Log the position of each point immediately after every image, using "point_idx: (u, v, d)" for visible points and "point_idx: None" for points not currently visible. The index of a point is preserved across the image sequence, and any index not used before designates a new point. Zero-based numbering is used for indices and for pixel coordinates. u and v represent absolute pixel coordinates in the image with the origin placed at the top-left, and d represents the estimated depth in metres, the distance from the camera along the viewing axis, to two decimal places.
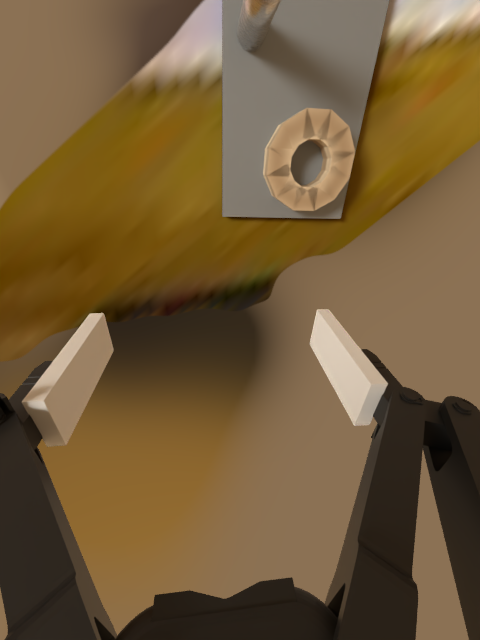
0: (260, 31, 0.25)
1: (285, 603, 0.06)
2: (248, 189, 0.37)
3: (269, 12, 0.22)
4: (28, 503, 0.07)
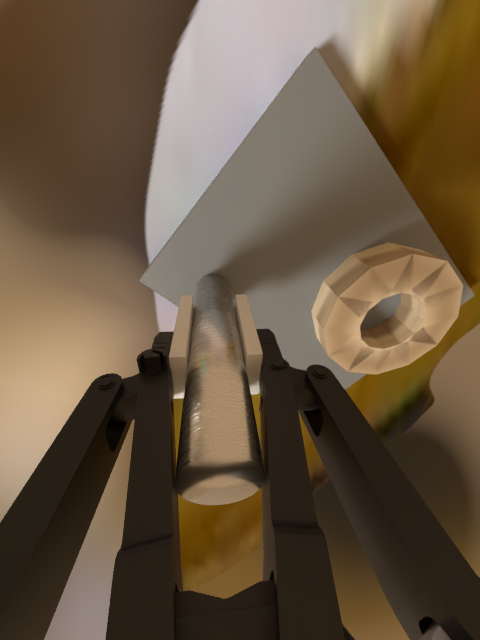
0: None
1: None
2: None
3: None
4: (157, 449, 0.08)
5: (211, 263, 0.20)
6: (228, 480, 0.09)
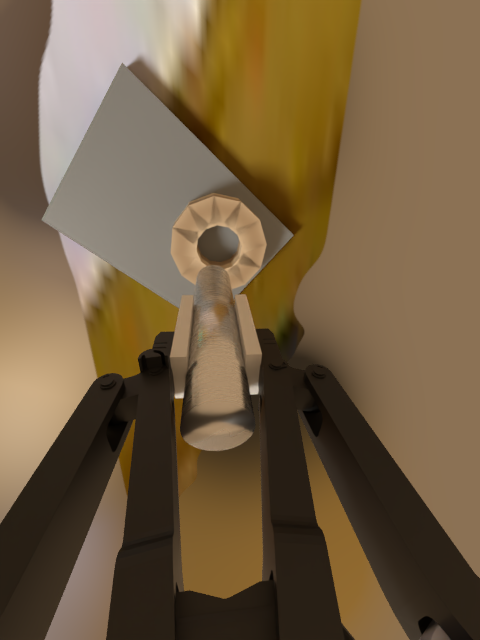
0: None
1: None
2: None
3: None
4: (158, 448, 0.08)
5: (90, 207, 0.30)
6: (224, 426, 0.10)
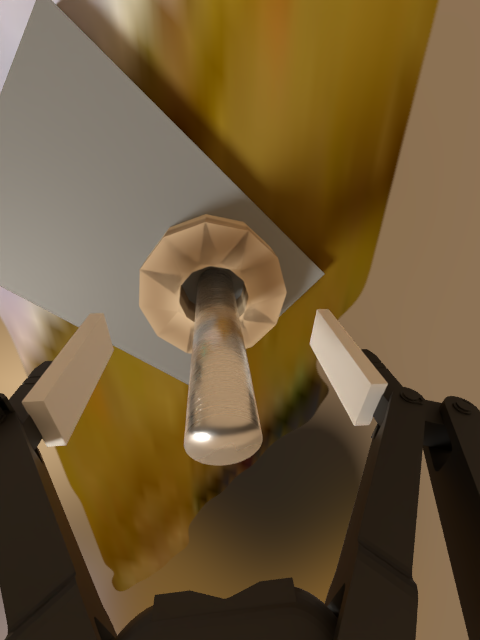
0: None
1: (285, 603, 0.06)
2: None
3: None
4: (28, 504, 0.07)
5: (14, 235, 0.19)
6: (230, 440, 0.10)
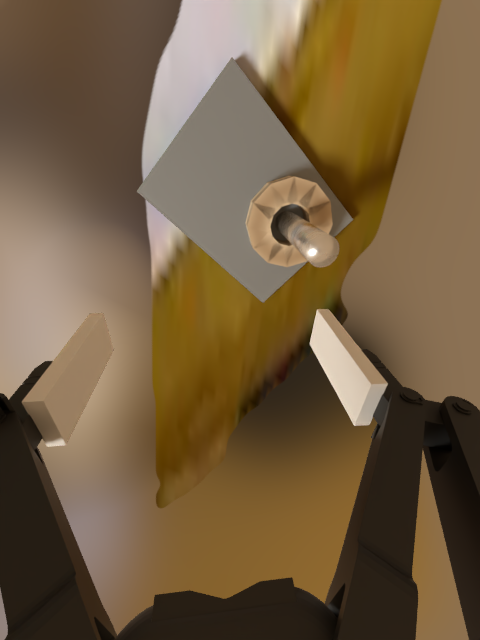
0: None
1: (285, 603, 0.06)
2: (263, 273, 0.41)
3: None
4: (28, 504, 0.07)
5: (180, 182, 0.34)
6: (326, 250, 0.24)
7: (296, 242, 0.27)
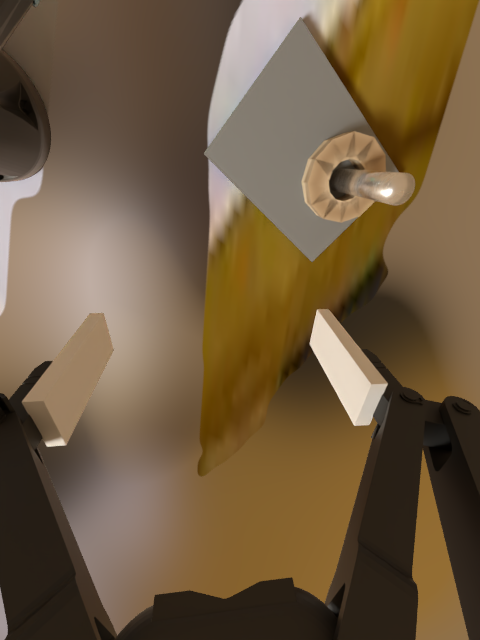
0: None
1: (285, 603, 0.06)
2: (314, 232, 0.43)
3: None
4: (28, 503, 0.07)
5: (244, 143, 0.36)
6: (403, 188, 0.27)
7: (367, 187, 0.30)
